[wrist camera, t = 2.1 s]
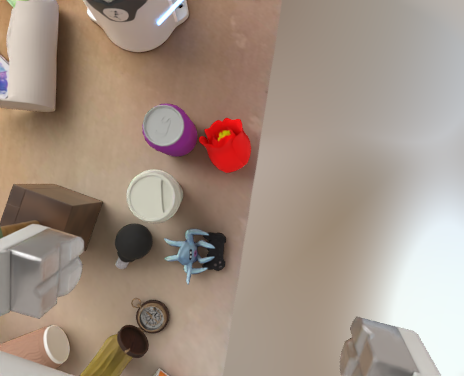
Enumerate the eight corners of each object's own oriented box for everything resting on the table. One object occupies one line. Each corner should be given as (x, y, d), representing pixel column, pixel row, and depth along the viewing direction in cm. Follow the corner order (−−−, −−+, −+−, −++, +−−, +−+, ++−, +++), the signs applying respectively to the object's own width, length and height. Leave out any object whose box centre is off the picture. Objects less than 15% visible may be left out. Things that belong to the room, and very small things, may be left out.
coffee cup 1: (74, 381, 56) (8, 416, 55) (76, 331, 64) (19, 361, 63) (35, 357, 50) (-40, 396, 49) (43, 305, 58) (-21, 337, 57)
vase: (96, 348, 61) (53, 398, 46) (120, 327, 61) (83, 371, 46) (117, 371, 61) (80, 429, 46) (141, 350, 61) (111, 402, 46)
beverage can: (168, 109, 60) (150, 91, 48) (205, 126, 59) (196, 112, 47) (151, 146, 60) (129, 137, 48) (187, 164, 60) (175, 159, 48)
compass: (176, 313, 60) (167, 331, 53) (149, 344, 61) (137, 366, 53) (145, 285, 60) (132, 299, 53) (118, 316, 61) (101, 334, 53)
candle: (-27, 105, 57) (-23, -7, 57) (59, 113, 61) (63, 9, 61) (-49, 95, 50) (-45, -32, 50) (49, 105, 54) (53, -13, 54)
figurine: (163, 231, 61) (154, 230, 53) (225, 227, 61) (225, 225, 54) (164, 281, 60) (155, 288, 52) (228, 277, 60) (228, 282, 52)
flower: (223, 186, 55) (205, 151, 50) (210, 163, 61) (193, 130, 56) (262, 164, 55) (249, 128, 50) (246, 144, 61) (232, 109, 56)
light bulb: (96, 271, 56) (117, 230, 52) (110, 249, 62) (130, 211, 58) (130, 285, 57) (152, 247, 54) (140, 263, 63) (161, 227, 59)
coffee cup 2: (176, 224, 60) (161, 235, 48) (137, 202, 60) (113, 207, 48) (198, 185, 60) (188, 186, 48) (159, 163, 60) (139, 158, 48)
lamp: (54, 181, 60) (-166, 179, 27) (108, 200, 60) (-48, 222, 27) (36, 235, 61) (-205, 298, 28) (89, 254, 60) (-88, 341, 27)
